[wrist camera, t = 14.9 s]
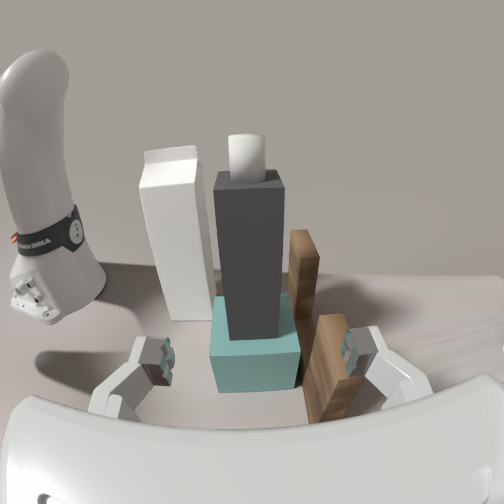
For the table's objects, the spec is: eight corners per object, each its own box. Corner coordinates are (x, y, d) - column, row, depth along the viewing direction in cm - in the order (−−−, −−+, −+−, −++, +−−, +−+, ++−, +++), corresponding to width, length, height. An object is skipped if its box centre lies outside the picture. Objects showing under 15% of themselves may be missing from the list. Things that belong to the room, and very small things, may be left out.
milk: (214, 321, 35) (192, 150, 23) (170, 321, 35) (132, 158, 23) (216, 291, 40) (201, 140, 29) (178, 292, 40) (151, 146, 28)
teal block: (218, 392, 26) (209, 355, 22) (221, 337, 33) (214, 296, 29) (293, 388, 26) (300, 351, 22) (284, 334, 33) (288, 293, 29)
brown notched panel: (311, 436, 21) (338, 380, 15) (286, 302, 38) (290, 230, 32) (330, 433, 21) (366, 375, 15) (300, 301, 38) (307, 229, 32)
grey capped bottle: (229, 340, 24) (209, 142, 15) (230, 307, 28) (216, 133, 18) (277, 338, 24) (285, 140, 15) (273, 305, 28) (275, 131, 19)
